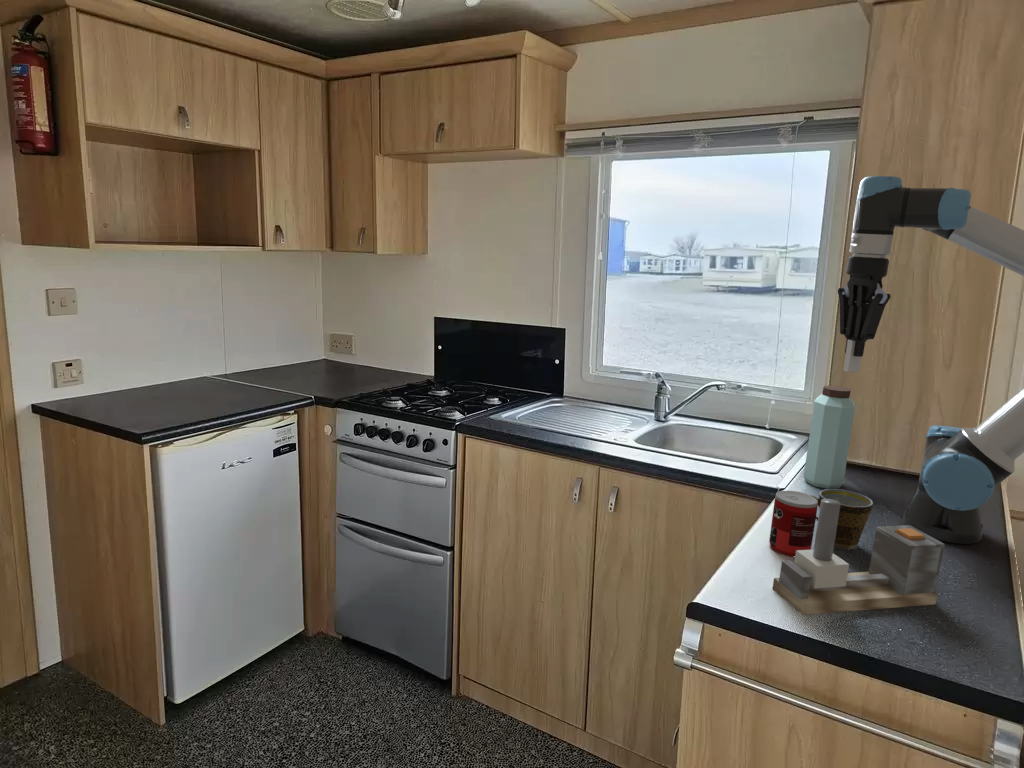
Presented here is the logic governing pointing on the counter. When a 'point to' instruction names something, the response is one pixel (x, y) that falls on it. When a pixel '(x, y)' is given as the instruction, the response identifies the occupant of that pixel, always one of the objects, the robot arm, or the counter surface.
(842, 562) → the carriage
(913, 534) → the button
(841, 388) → the water bottle
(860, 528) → the ceramic cup
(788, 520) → the canned food
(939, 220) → the robot arm
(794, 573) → the rail stand
